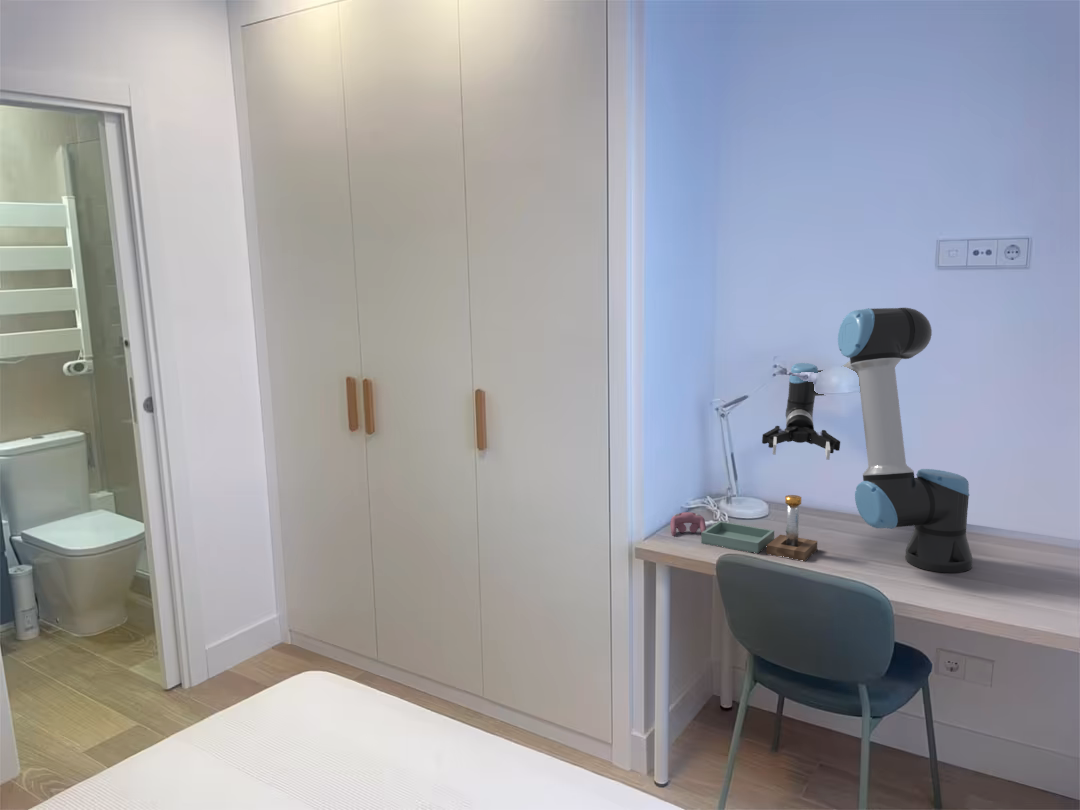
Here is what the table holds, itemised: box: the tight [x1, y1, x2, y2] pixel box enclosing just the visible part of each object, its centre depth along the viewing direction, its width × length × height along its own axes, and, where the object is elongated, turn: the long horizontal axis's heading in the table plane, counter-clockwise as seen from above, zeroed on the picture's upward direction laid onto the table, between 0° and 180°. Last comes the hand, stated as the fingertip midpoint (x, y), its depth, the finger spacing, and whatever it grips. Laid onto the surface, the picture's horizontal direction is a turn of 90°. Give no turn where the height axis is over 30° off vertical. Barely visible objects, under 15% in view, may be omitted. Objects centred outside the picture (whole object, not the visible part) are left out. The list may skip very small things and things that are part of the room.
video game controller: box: [669, 511, 707, 537], centre depth 233 cm, size 10×5×7 cm, turn 85°
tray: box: [700, 520, 775, 554], centre depth 225 cm, size 16×12×3 cm
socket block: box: [765, 534, 818, 562], centre depth 216 cm, size 10×10×2 cm
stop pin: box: [784, 494, 802, 547], centre depth 215 cm, size 4×4×15 cm
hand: (801, 452), depth 217 cm, fingers open, 13 cm apart
